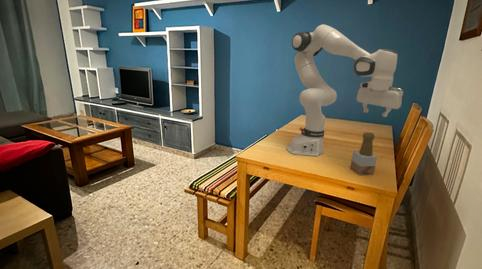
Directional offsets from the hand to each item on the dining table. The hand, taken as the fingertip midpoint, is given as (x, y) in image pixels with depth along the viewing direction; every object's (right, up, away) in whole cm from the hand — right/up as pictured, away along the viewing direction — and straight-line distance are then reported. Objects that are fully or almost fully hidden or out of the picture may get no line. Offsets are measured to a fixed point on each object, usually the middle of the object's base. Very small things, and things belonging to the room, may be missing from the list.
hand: (374, 114), depth 121 cm
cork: (-1, -20, +6) cm, 21 cm away
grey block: (-2, -24, +8) cm, 26 cm away
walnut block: (-2, -29, +9) cm, 31 cm away
